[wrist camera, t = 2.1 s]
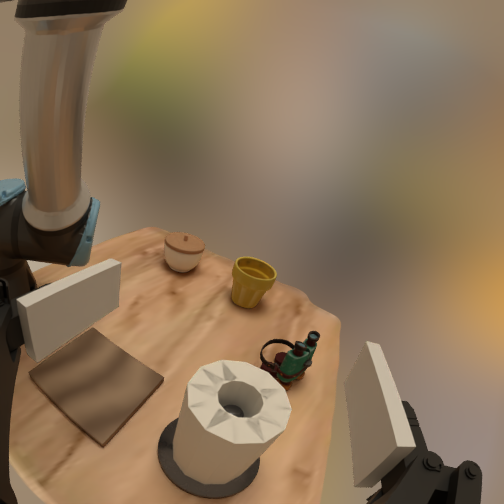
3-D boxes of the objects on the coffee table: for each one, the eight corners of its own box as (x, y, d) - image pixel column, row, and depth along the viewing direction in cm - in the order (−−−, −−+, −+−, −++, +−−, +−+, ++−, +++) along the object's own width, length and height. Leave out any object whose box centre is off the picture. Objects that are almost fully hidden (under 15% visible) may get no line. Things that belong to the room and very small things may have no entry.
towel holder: (138, 464, 24) (135, 425, 19) (187, 401, 37) (202, 346, 32) (237, 513, 22) (276, 493, 17) (269, 440, 34) (306, 394, 29)
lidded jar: (173, 252, 79) (180, 223, 75) (205, 267, 77) (213, 237, 73) (152, 265, 69) (158, 232, 65) (186, 282, 67) (194, 249, 64)
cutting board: (30, 377, 27) (28, 372, 27) (93, 331, 42) (93, 327, 41) (103, 447, 24) (102, 444, 24) (163, 381, 39) (164, 377, 38)
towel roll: (159, 460, 25) (167, 408, 20) (193, 412, 34) (215, 347, 29) (230, 495, 23) (274, 459, 18) (255, 442, 33) (298, 385, 27)
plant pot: (270, 313, 67) (285, 280, 63) (232, 314, 62) (245, 278, 58) (253, 288, 75) (265, 257, 71) (218, 287, 70) (229, 254, 66)
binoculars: (288, 310, 52) (331, 336, 46) (273, 351, 55) (311, 376, 50) (258, 324, 45) (306, 356, 40) (245, 367, 49) (286, 398, 43)
